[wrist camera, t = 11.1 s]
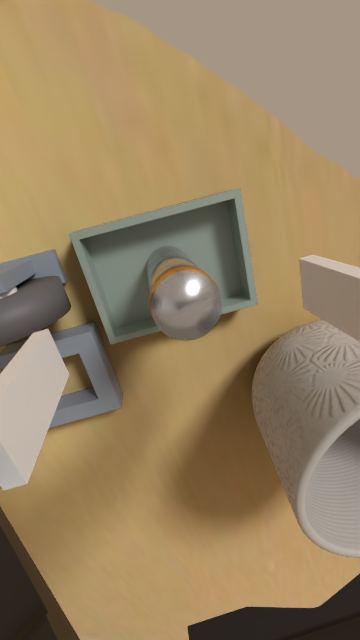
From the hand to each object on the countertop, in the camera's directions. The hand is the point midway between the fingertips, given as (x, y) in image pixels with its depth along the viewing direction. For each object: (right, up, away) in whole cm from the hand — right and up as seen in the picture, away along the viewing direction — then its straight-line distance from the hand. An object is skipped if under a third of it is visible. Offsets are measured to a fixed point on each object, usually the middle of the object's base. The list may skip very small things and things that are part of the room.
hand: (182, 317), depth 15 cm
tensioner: (-13, -2, +15) cm, 19 cm away
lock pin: (-1, +5, +13) cm, 14 cm away
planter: (+14, -6, +20) cm, 25 cm away
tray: (-1, +5, +13) cm, 14 cm away
